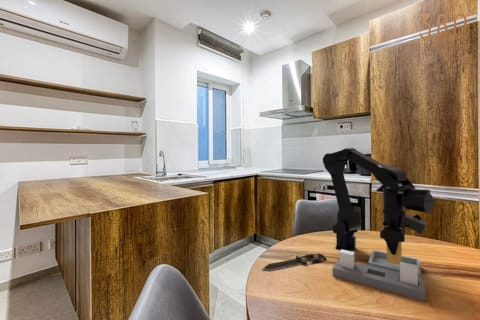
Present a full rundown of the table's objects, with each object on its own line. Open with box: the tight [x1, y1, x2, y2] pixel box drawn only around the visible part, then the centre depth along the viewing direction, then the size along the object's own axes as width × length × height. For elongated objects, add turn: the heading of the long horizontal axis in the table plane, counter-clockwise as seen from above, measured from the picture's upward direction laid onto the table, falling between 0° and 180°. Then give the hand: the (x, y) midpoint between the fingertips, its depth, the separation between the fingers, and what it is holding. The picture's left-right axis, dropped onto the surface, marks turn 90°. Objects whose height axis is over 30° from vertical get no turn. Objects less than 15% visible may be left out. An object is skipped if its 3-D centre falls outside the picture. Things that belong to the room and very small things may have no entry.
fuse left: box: [339, 249, 356, 270], centre depth 74 cm, size 4×2×7 cm, turn 53°
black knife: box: [261, 253, 327, 272], centre depth 82 cm, size 25×6×1 cm, turn 103°
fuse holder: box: [332, 257, 427, 303], centre depth 69 cm, size 23×8×2 cm, turn 53°
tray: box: [367, 249, 422, 278], centre depth 77 cm, size 14×12×2 cm
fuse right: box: [400, 262, 418, 286], centre depth 64 cm, size 4×2×7 cm, turn 53°
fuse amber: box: [386, 242, 403, 265], centre depth 76 cm, size 4×2×7 cm, turn 54°
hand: (393, 253), depth 76 cm, fingers closed on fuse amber, 2 cm apart
